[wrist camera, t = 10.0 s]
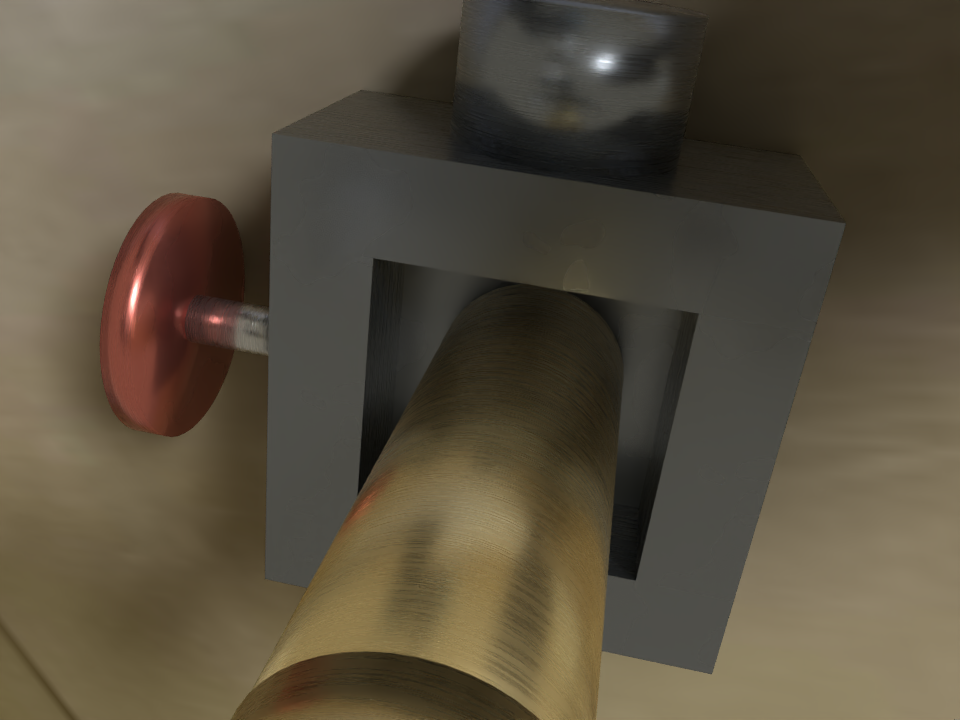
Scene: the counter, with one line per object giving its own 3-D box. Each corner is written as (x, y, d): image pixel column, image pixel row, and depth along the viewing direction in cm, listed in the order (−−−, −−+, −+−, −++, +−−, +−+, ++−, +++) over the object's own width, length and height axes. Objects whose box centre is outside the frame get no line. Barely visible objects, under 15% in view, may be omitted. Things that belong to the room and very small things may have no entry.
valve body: (223, -57, 22) (69, -58, 17) (834, 24, 21) (904, 55, 15) (226, 514, 30) (121, 653, 24) (679, 607, 28) (685, 781, 22)
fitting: (448, 267, 22) (101, 797, 8) (642, 300, 21) (614, 924, 8) (430, 434, 24) (128, 1083, 10) (607, 468, 23) (536, 1200, 10)
